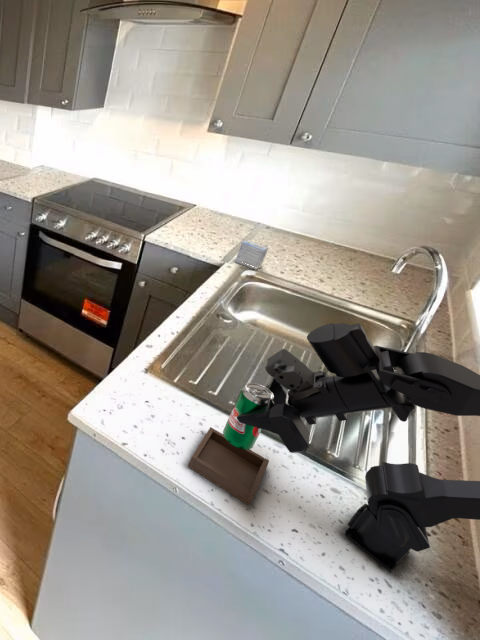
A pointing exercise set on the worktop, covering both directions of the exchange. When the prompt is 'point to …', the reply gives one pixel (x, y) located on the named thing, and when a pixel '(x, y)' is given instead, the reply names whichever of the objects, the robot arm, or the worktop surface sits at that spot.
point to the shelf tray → (229, 466)
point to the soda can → (247, 401)
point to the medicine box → (251, 254)
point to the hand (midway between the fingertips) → (240, 410)
